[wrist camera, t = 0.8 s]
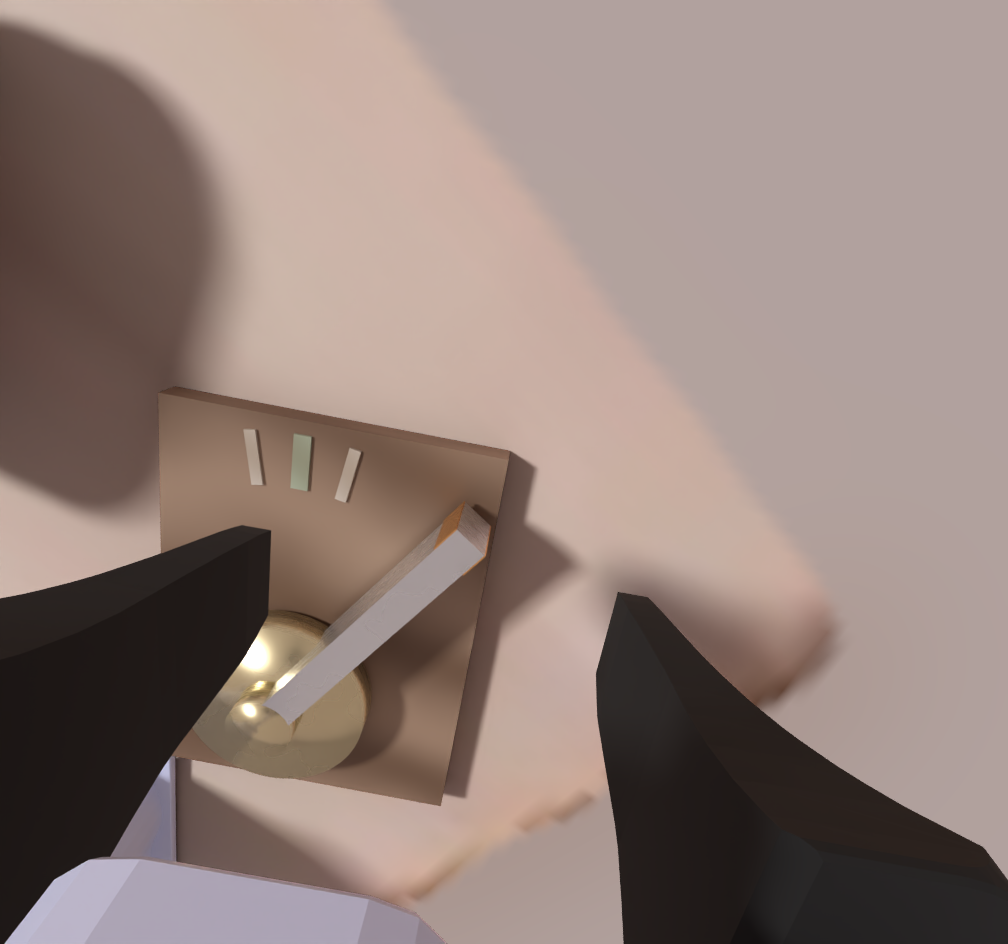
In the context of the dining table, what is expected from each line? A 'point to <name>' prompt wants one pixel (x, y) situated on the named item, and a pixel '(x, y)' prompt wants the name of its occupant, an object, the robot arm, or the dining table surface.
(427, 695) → the lever switch plate
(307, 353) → the dining table surface
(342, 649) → the switch lever
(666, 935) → the robot arm
